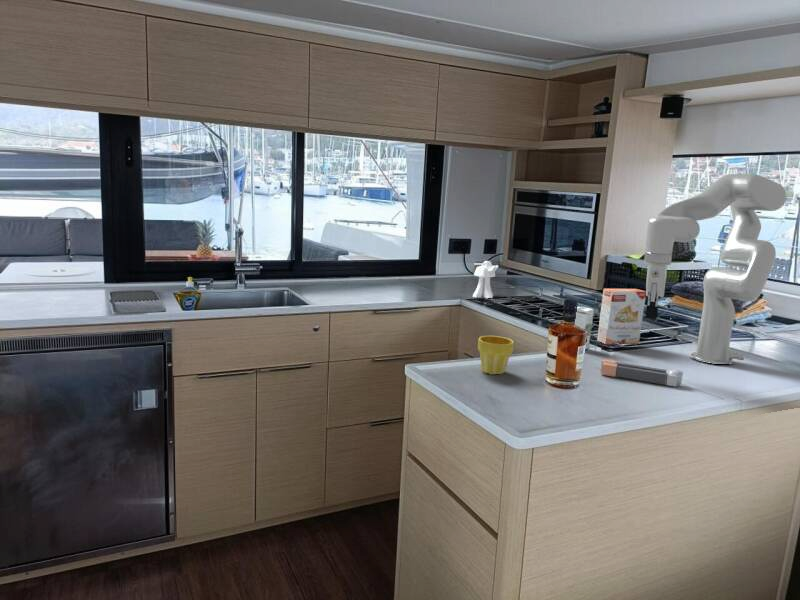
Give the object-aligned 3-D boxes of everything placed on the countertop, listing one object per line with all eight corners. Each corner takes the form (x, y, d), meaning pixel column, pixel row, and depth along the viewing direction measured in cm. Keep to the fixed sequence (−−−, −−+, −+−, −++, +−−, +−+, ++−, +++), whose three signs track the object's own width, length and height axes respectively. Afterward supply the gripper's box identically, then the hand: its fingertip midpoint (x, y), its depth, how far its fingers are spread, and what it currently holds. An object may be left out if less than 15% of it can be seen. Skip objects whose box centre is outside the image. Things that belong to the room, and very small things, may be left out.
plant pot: (518, 372, 177) (520, 341, 176) (496, 379, 170) (499, 346, 169) (490, 364, 185) (492, 333, 183) (468, 370, 178) (471, 338, 176)
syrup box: (573, 345, 213) (577, 305, 210) (589, 349, 209) (594, 308, 206) (566, 348, 208) (571, 307, 206) (583, 352, 205) (587, 310, 202)
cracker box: (605, 349, 210) (612, 290, 206) (595, 344, 215) (602, 287, 211) (639, 348, 213) (647, 290, 210) (629, 344, 219) (636, 287, 215)
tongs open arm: (665, 379, 177) (666, 368, 177) (664, 381, 175) (666, 371, 174) (601, 368, 185) (603, 359, 184) (600, 371, 182) (602, 361, 182)
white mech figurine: (464, 295, 303) (466, 260, 299) (484, 293, 310) (486, 259, 307) (479, 299, 293) (482, 263, 290) (500, 298, 300) (503, 262, 297)
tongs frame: (680, 384, 174) (682, 370, 174) (680, 388, 170) (682, 375, 169) (603, 371, 183) (604, 358, 183) (601, 375, 179) (602, 362, 178)
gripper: (670, 262, 171) (663, 324, 175) (671, 257, 185) (665, 314, 188) (642, 260, 174) (636, 321, 178) (645, 255, 188) (639, 312, 191)
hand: (651, 318), depth 183 cm, fingers closed
